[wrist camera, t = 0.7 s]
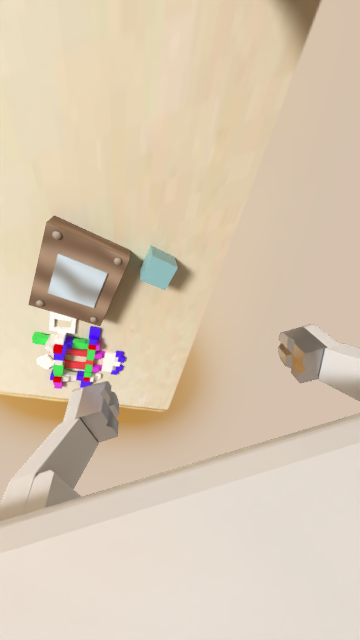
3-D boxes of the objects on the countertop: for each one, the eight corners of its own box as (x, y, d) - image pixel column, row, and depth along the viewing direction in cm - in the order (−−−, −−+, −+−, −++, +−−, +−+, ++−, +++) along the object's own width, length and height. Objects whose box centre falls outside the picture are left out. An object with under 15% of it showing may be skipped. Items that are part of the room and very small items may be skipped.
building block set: (115, 388, 66) (114, 401, 63) (36, 381, 60) (30, 396, 56) (134, 322, 53) (134, 335, 49) (35, 305, 46) (27, 318, 43)
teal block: (150, 245, 42) (152, 255, 38) (174, 256, 44) (177, 267, 40) (140, 268, 44) (140, 279, 40) (162, 277, 46) (165, 290, 42)
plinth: (54, 215, 37) (45, 222, 33) (130, 250, 42) (129, 259, 38) (36, 293, 44) (27, 305, 41) (102, 314, 49) (100, 326, 46)
